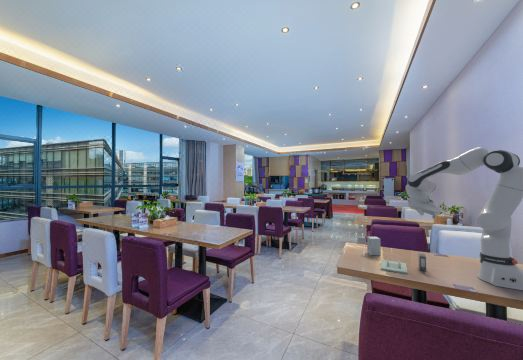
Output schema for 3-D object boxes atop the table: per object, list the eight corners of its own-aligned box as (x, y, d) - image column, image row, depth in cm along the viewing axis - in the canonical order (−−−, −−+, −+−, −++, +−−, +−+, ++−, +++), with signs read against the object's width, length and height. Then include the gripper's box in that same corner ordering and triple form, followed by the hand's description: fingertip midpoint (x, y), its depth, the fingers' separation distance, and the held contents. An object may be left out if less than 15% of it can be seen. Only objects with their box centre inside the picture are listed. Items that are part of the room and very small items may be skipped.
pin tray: (381, 261, 154) (381, 256, 154) (405, 264, 147) (405, 259, 147) (380, 269, 139) (380, 264, 139) (407, 274, 132) (407, 268, 132)
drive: (418, 267, 143) (418, 253, 143) (424, 268, 141) (424, 254, 141) (419, 270, 137) (419, 256, 137) (426, 271, 136) (425, 256, 136)
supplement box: (376, 252, 173) (376, 236, 174) (381, 255, 166) (380, 238, 166) (367, 252, 174) (366, 236, 174) (370, 255, 167) (370, 238, 167)
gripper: (409, 193, 150) (418, 209, 140) (435, 202, 152) (446, 217, 142) (403, 200, 154) (411, 215, 144) (428, 207, 156) (438, 223, 146)
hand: (428, 216), depth 143 cm, fingers open, 8 cm apart
